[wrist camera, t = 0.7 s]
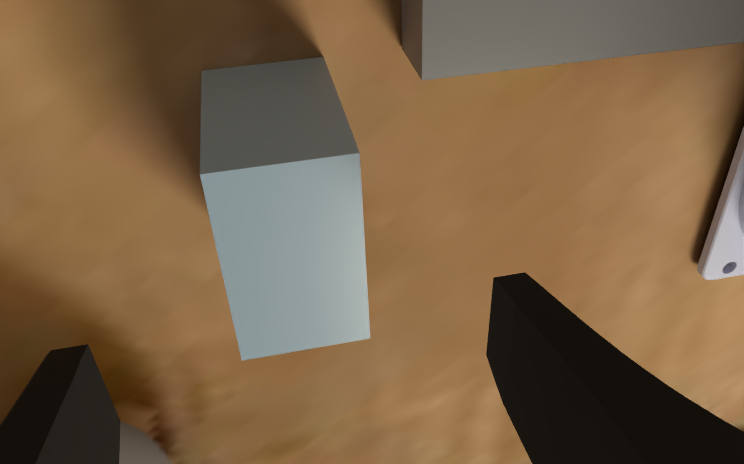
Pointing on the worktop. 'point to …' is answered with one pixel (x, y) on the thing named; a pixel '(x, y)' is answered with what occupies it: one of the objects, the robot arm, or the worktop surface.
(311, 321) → the block
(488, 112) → the worktop surface
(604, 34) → the grey slotted base
